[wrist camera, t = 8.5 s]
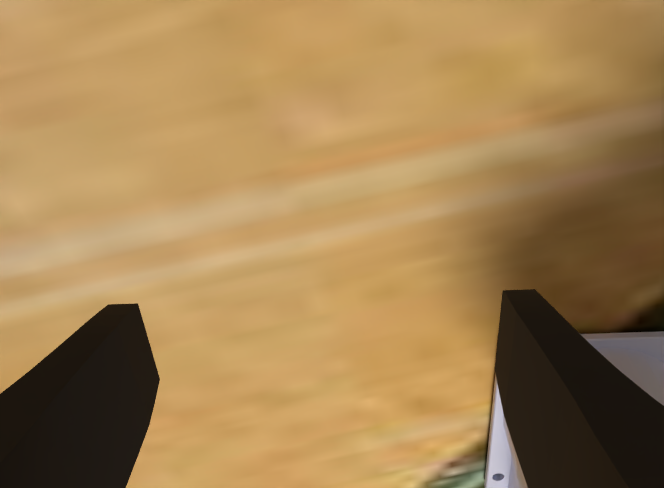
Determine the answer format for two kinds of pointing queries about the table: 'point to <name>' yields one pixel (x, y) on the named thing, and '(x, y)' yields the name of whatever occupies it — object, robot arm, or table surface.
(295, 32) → the table surface
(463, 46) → the table surface
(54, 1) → the table surface
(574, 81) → the table surface
